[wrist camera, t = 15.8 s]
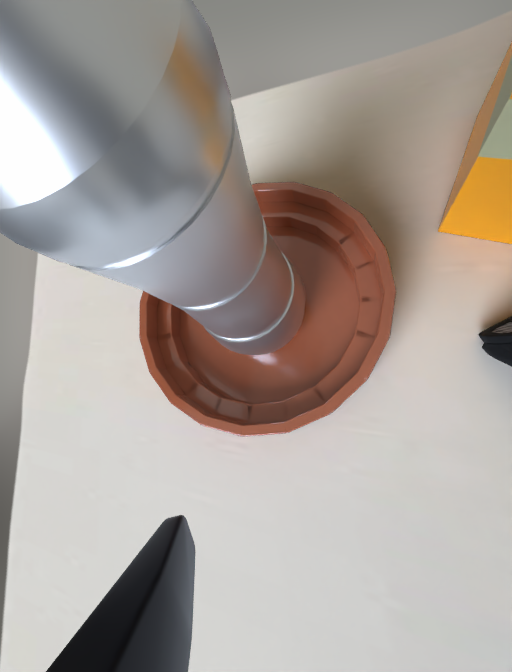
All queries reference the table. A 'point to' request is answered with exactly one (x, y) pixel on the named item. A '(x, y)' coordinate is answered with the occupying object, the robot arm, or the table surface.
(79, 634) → the robot arm
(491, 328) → the electric trimmer
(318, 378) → the bowl
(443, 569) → the table surface
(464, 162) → the orange juice
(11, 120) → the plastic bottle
